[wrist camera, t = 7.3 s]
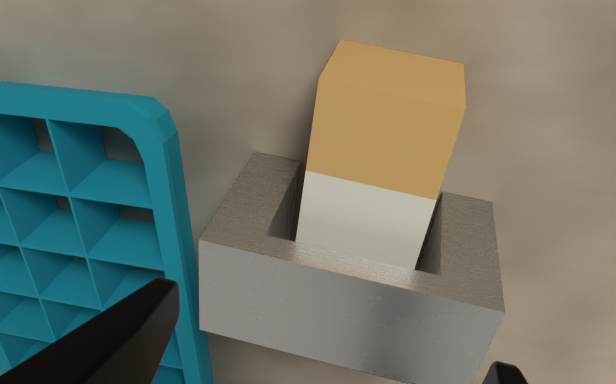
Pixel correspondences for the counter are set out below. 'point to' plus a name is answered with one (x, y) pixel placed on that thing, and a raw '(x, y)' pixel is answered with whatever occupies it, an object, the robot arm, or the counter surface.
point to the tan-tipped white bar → (379, 151)
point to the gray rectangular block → (350, 286)
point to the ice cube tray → (91, 222)
